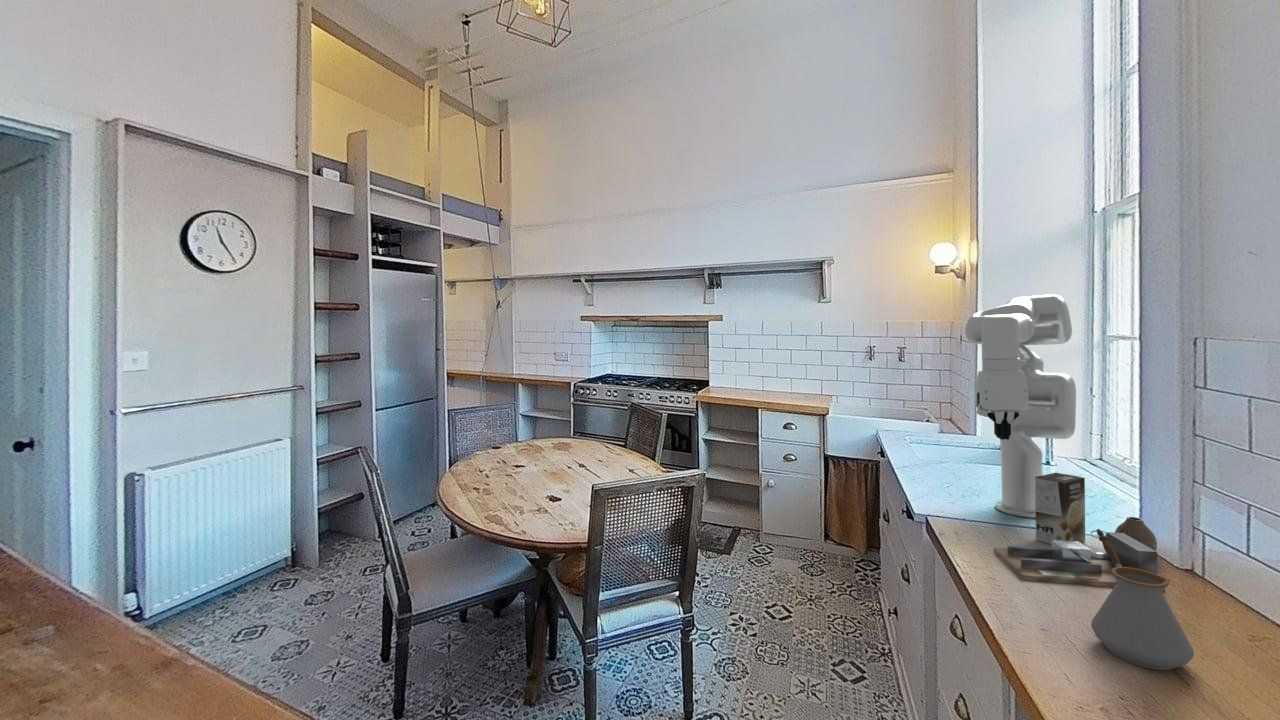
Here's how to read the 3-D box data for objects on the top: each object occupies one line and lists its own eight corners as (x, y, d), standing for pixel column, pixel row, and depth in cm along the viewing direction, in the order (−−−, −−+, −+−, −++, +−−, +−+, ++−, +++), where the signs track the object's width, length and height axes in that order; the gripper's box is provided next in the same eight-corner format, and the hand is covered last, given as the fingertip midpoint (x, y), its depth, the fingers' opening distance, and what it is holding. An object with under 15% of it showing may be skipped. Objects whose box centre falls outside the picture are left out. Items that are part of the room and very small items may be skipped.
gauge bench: (1022, 579, 102) (1021, 547, 102) (993, 551, 116) (993, 523, 115) (1165, 591, 95) (1164, 556, 95) (1117, 560, 109) (1116, 529, 109)
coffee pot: (1213, 687, 70) (1212, 585, 69) (1108, 667, 75) (1107, 572, 74) (1139, 611, 89) (1138, 531, 89) (1060, 599, 94) (1058, 524, 94)
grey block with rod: (1074, 577, 100) (1074, 556, 100) (1051, 559, 108) (1051, 539, 108) (1139, 582, 97) (1139, 560, 97) (1110, 563, 105) (1110, 543, 105)
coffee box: (1065, 549, 115) (1064, 482, 115) (1034, 539, 121) (1033, 476, 121) (1086, 541, 119) (1085, 477, 119) (1055, 532, 125) (1054, 471, 124)
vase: (1166, 563, 106) (1165, 524, 106) (1129, 562, 108) (1128, 523, 107) (1140, 550, 113) (1140, 513, 113) (1106, 549, 114) (1105, 512, 114)
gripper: (1028, 363, 121) (1030, 435, 122) (960, 365, 125) (962, 435, 126) (1044, 365, 114) (1046, 441, 115) (972, 368, 118) (974, 442, 119)
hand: (1002, 438), depth 120 cm, fingers closed
